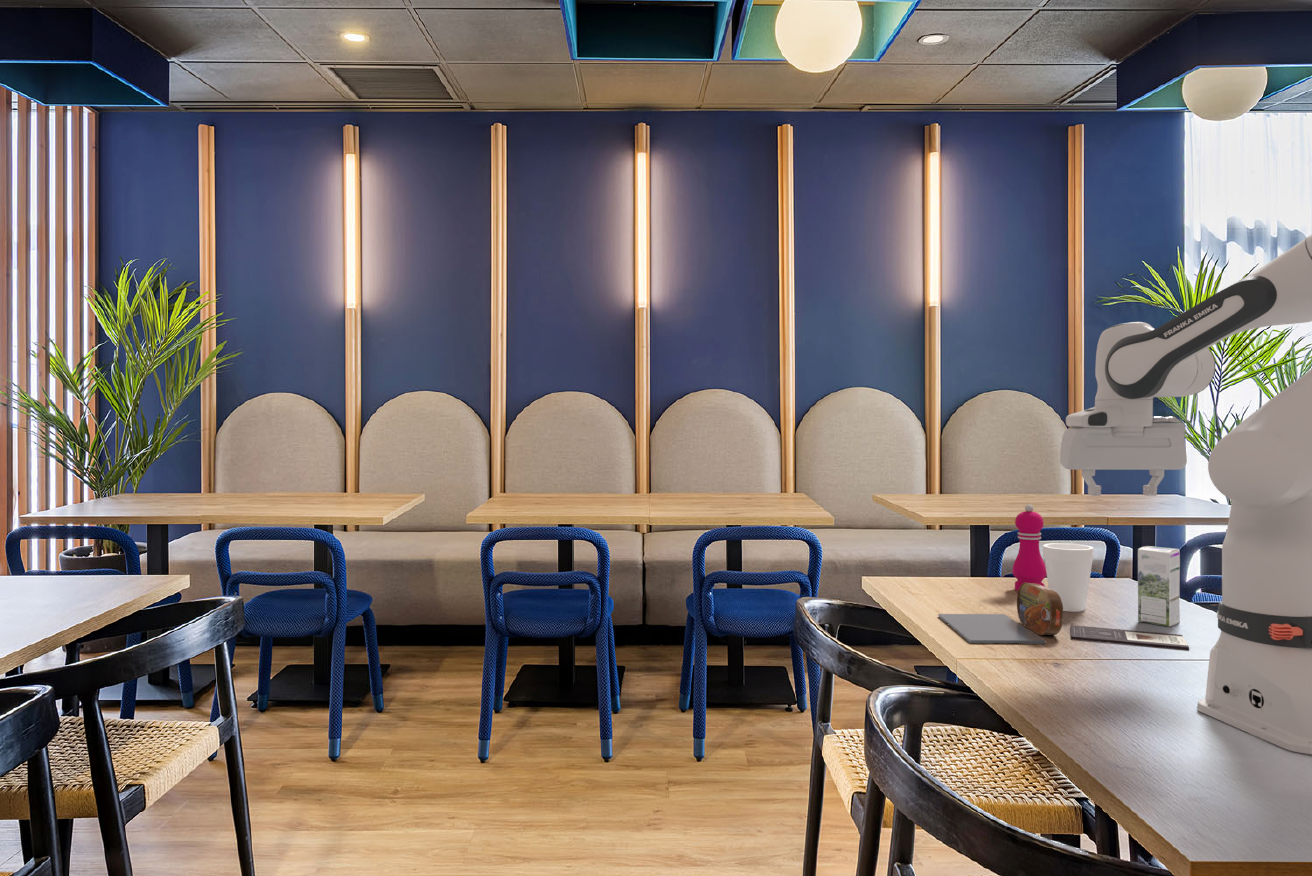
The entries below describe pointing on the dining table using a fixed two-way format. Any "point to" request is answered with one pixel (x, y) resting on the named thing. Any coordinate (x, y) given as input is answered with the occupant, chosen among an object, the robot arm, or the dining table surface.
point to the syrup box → (1158, 585)
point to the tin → (1040, 609)
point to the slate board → (990, 628)
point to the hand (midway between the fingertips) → (1122, 495)
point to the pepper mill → (1029, 549)
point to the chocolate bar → (1129, 637)
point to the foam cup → (1069, 573)
